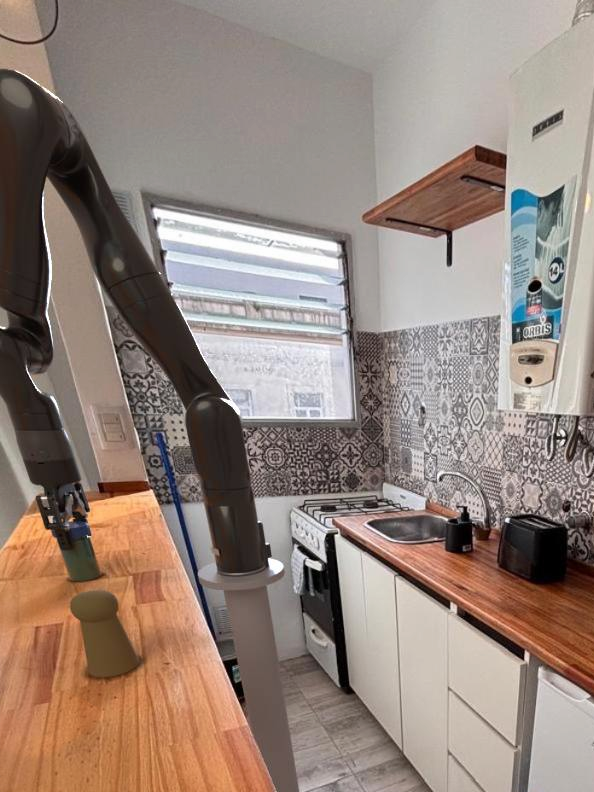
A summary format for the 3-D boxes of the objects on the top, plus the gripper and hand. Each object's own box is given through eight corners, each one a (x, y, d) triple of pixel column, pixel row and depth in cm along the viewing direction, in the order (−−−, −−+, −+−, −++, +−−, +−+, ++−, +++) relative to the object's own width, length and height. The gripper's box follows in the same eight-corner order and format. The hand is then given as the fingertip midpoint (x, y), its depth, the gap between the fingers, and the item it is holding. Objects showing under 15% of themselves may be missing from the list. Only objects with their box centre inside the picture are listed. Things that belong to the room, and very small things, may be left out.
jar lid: (47, 539, 95) (43, 529, 95) (61, 530, 100) (58, 521, 100) (82, 538, 97) (79, 528, 96) (95, 530, 102) (93, 520, 101)
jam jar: (92, 570, 106) (77, 524, 101) (107, 575, 103) (92, 528, 99) (64, 578, 101) (47, 529, 97) (78, 583, 99) (62, 534, 95)
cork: (149, 659, 75) (129, 588, 70) (114, 680, 69) (89, 604, 64) (114, 653, 76) (92, 583, 71) (77, 673, 70) (50, 599, 65)
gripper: (41, 450, 98) (69, 534, 105) (3, 461, 86) (37, 555, 93) (87, 450, 100) (111, 532, 107) (56, 461, 88) (86, 553, 95)
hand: (77, 543), depth 100 cm, fingers open, 8 cm apart
